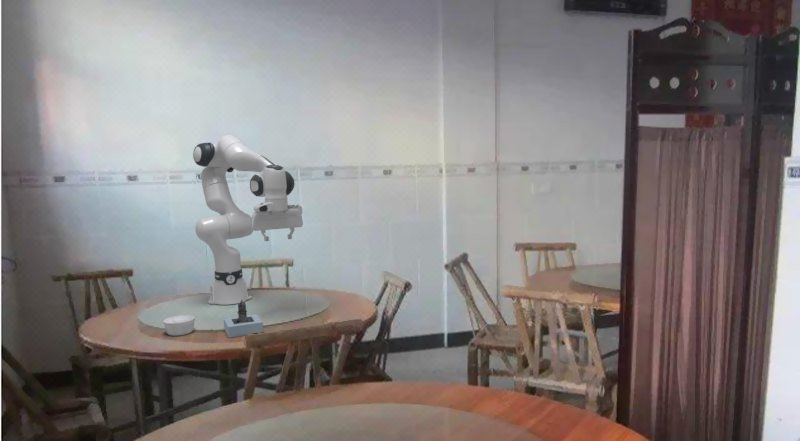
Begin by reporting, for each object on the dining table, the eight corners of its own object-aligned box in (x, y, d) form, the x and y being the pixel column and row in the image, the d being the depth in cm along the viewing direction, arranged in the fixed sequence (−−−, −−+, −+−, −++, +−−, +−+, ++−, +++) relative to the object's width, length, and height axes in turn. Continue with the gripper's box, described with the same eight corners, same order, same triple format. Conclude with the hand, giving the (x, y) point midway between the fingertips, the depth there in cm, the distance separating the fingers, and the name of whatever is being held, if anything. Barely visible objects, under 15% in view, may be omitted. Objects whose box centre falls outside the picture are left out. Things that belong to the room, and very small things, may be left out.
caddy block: (224, 328, 239) (223, 318, 238) (257, 323, 243) (256, 314, 243) (228, 337, 227) (228, 327, 227) (263, 332, 232) (262, 322, 231)
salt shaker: (254, 328, 237) (252, 298, 236) (246, 333, 232) (244, 302, 230) (240, 327, 239) (238, 297, 237) (232, 332, 233) (230, 301, 232)
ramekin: (157, 335, 233) (156, 321, 232) (178, 326, 243) (177, 313, 242) (181, 338, 229) (180, 324, 228) (201, 329, 239) (200, 315, 238)
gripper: (300, 203, 256) (301, 236, 258) (249, 206, 248) (251, 241, 250) (303, 204, 250) (305, 238, 252) (252, 208, 242) (254, 243, 244)
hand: (278, 239), depth 251 cm, fingers open, 8 cm apart
